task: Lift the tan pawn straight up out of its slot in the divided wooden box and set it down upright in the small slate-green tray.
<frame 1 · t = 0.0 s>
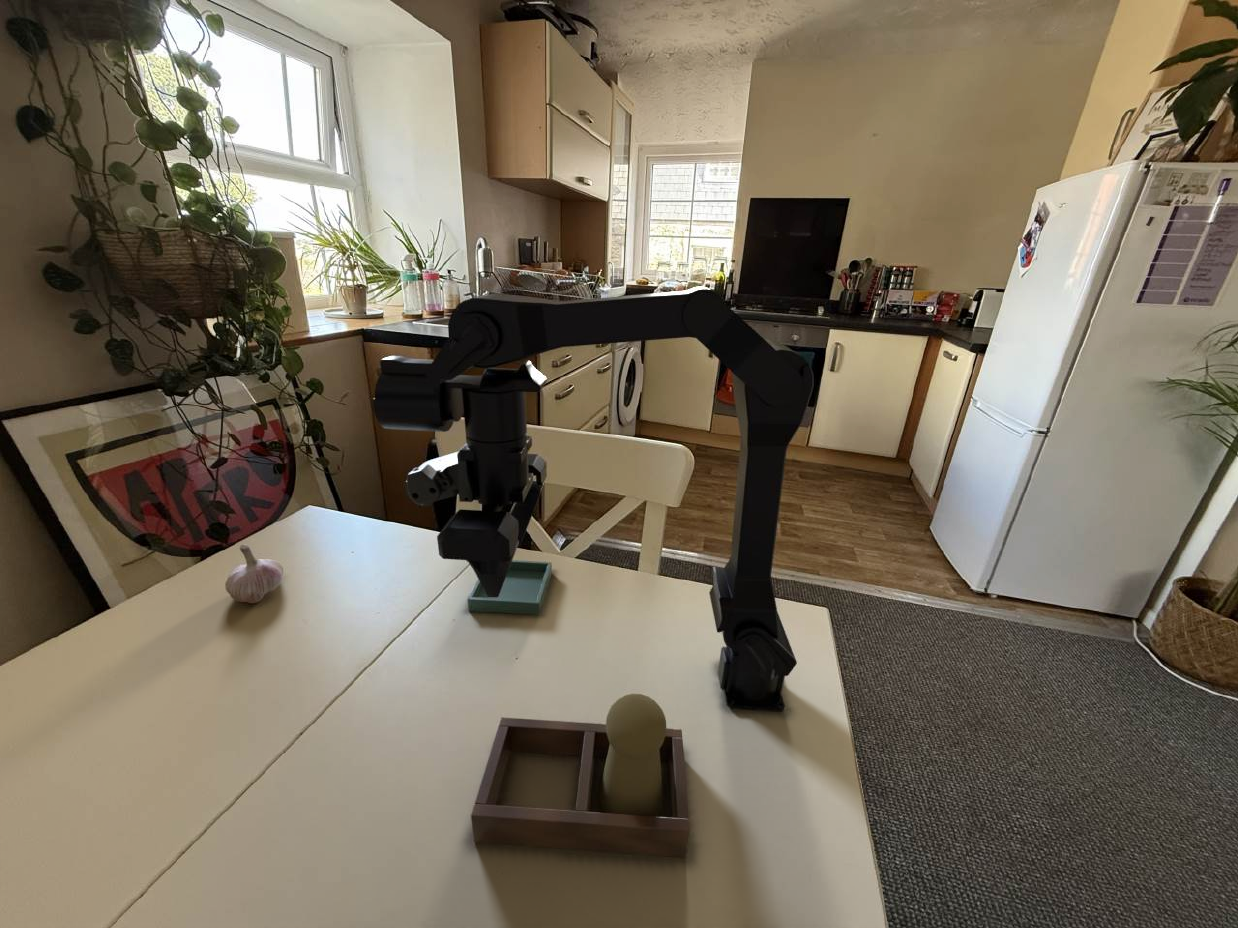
hand: (505, 569, 53), 15 cm above the table, tool pointing down, fingers open, 9 cm apart
tan pawn: (631, 798, 46), resting in divided wooden box
divided wooden box: (585, 793, 46), on the table
garlic bulb: (259, 592, 71), on the table
tray: (512, 590, 74), on the table
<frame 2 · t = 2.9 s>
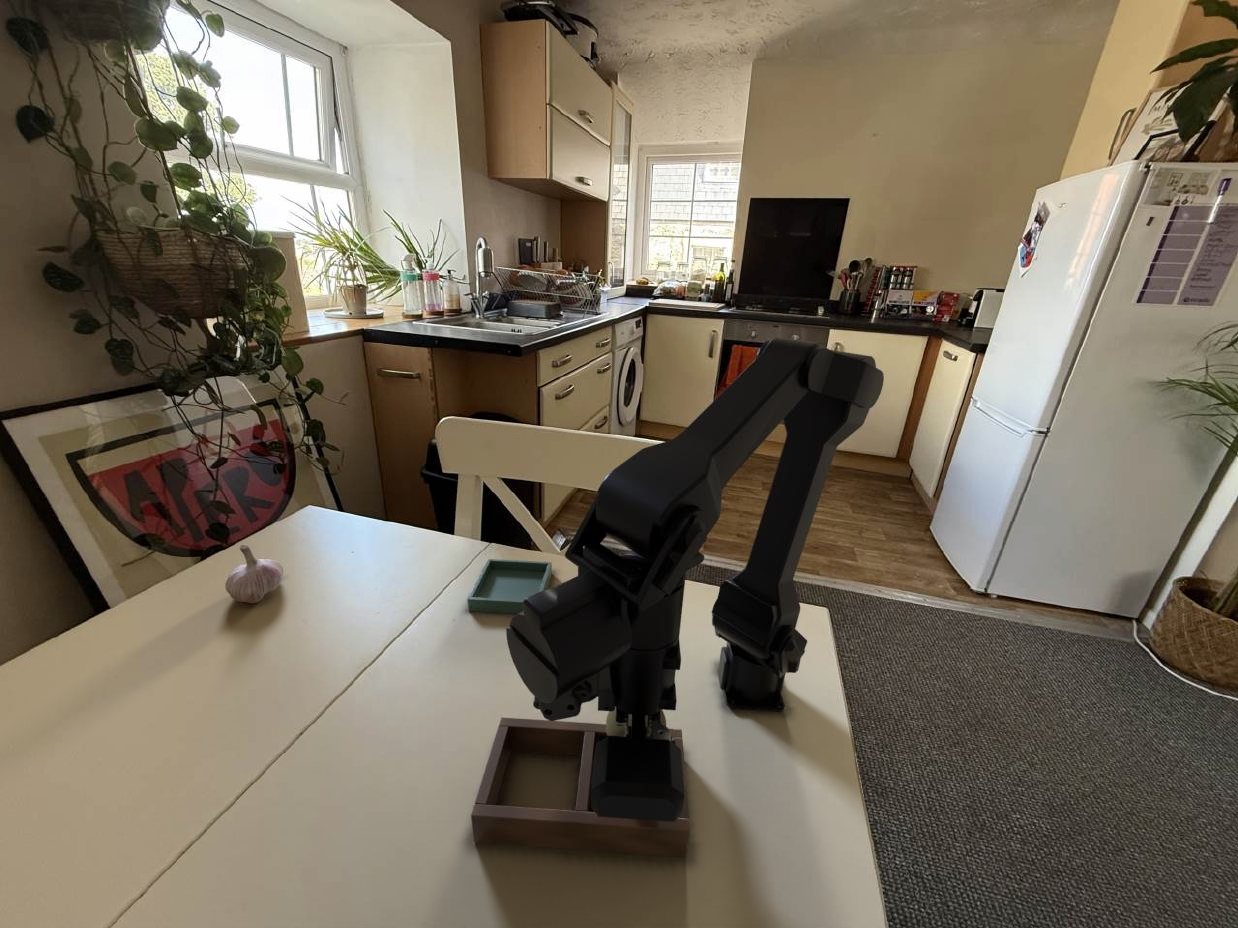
hand: (633, 763, 44), 5 cm above the table, tool pointing down, fingers closed on tan pawn, 4 cm apart
tan pawn: (631, 798, 46), resting in divided wooden box, touching gripper
everything else where it was.
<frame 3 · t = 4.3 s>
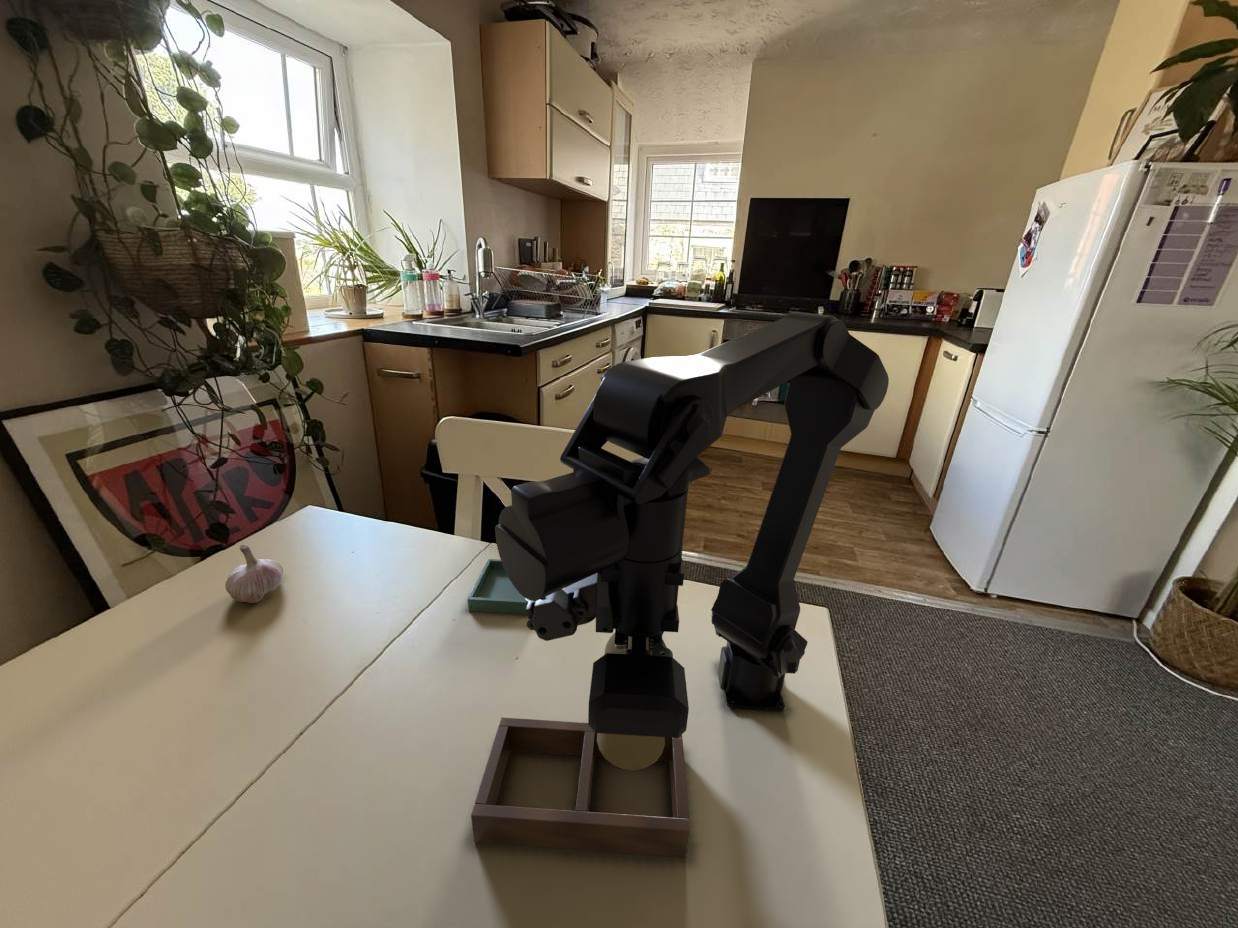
hand: (633, 699, 42), 12 cm above the table, tool pointing down, fingers closed on tan pawn, 4 cm apart
tan pawn: (630, 738, 44), point 7 cm above the table, touching gripper
everything else where it was.
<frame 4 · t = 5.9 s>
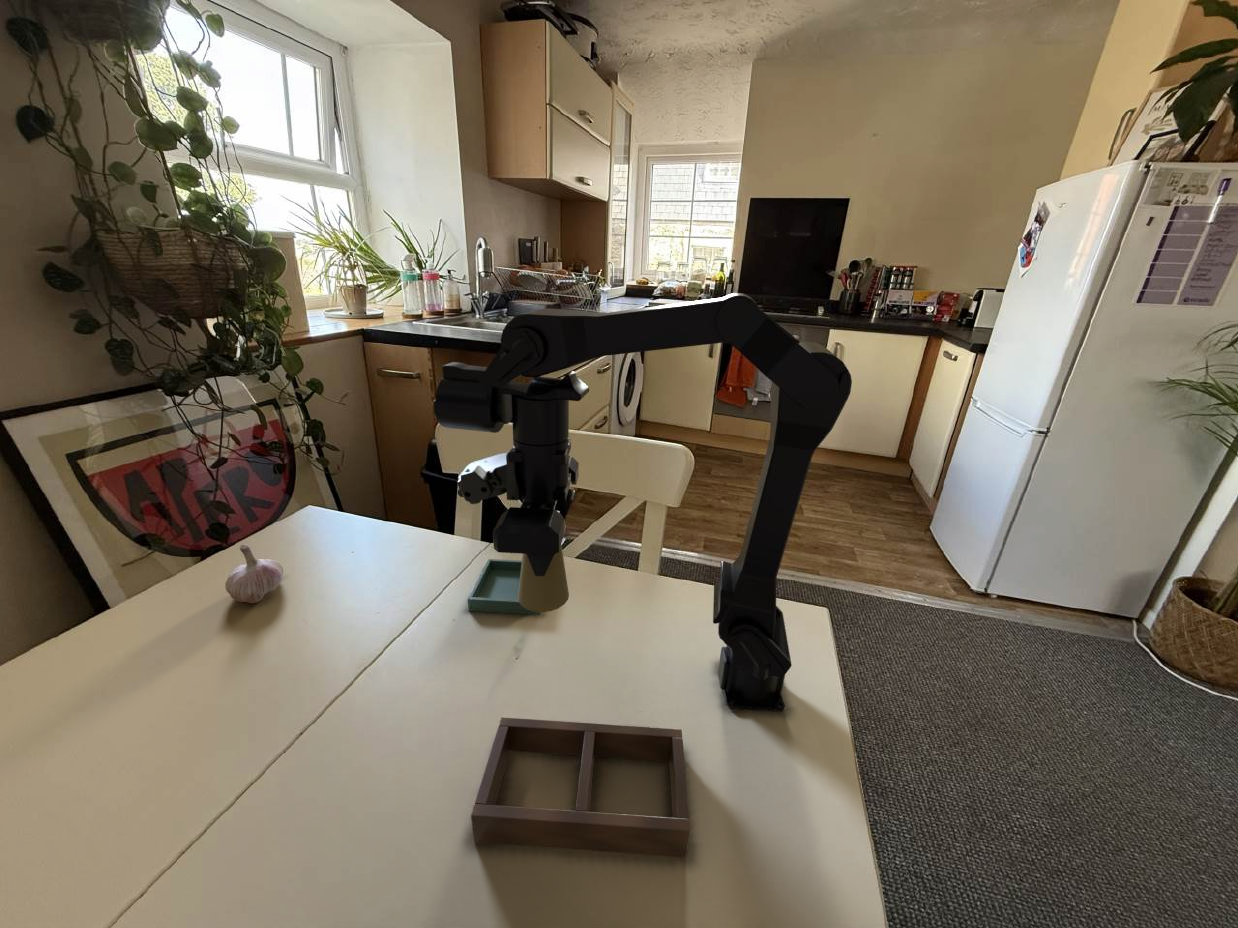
hand: (543, 563, 57), 13 cm above the table, tool pointing down, fingers closed on tan pawn, 4 cm apart
tan pawn: (543, 596, 59), point 8 cm above the table, touching gripper
everything else where it was.
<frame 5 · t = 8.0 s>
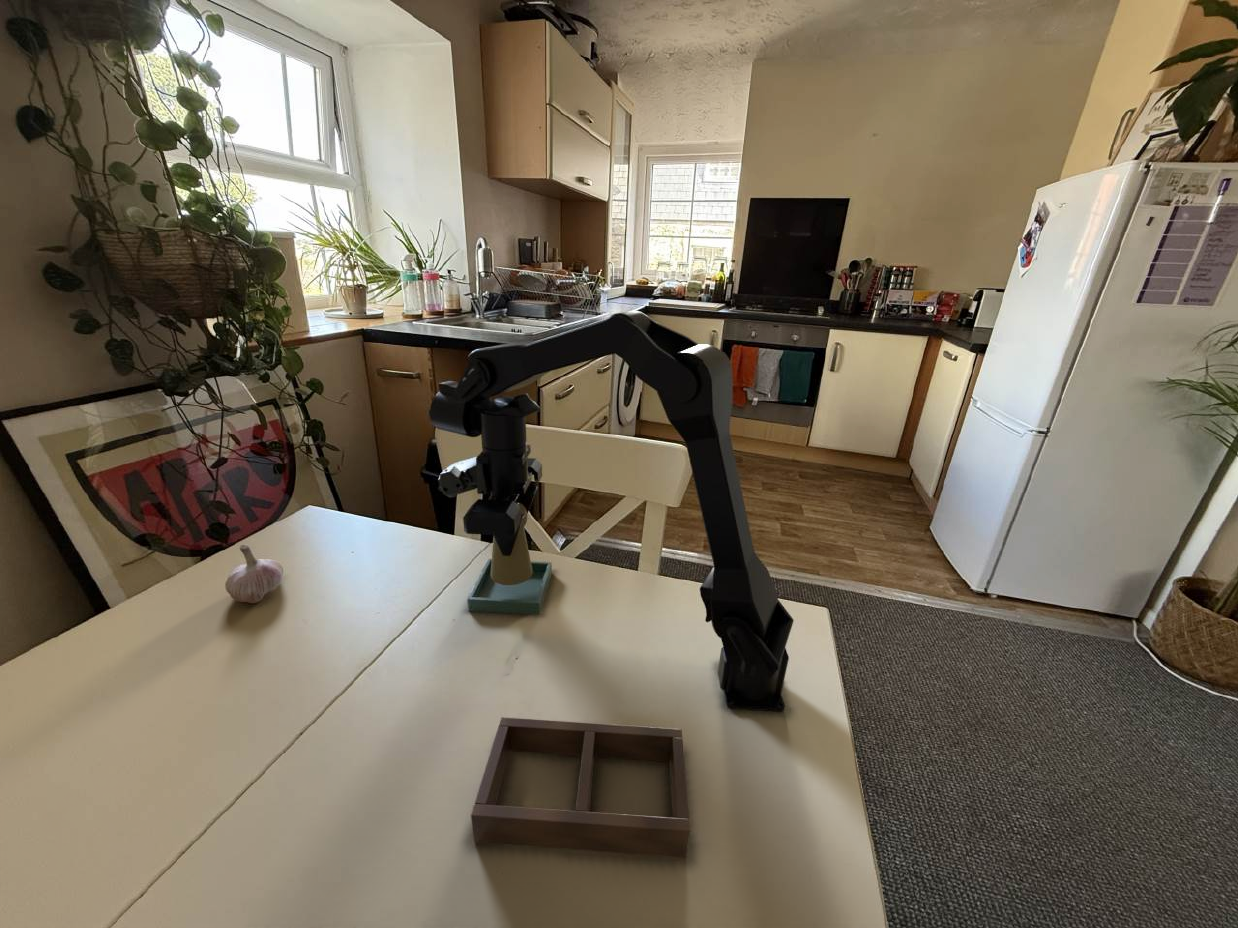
hand: (510, 546, 70), 8 cm above the table, tool pointing down, fingers closed on tan pawn, 4 cm apart
tan pawn: (511, 573, 72), point 3 cm above the table, touching gripper
everything else where it was.
when the fingers open (5 cm above the table, at t = 9.1 s): tan pawn stays where it is, resting on tray.
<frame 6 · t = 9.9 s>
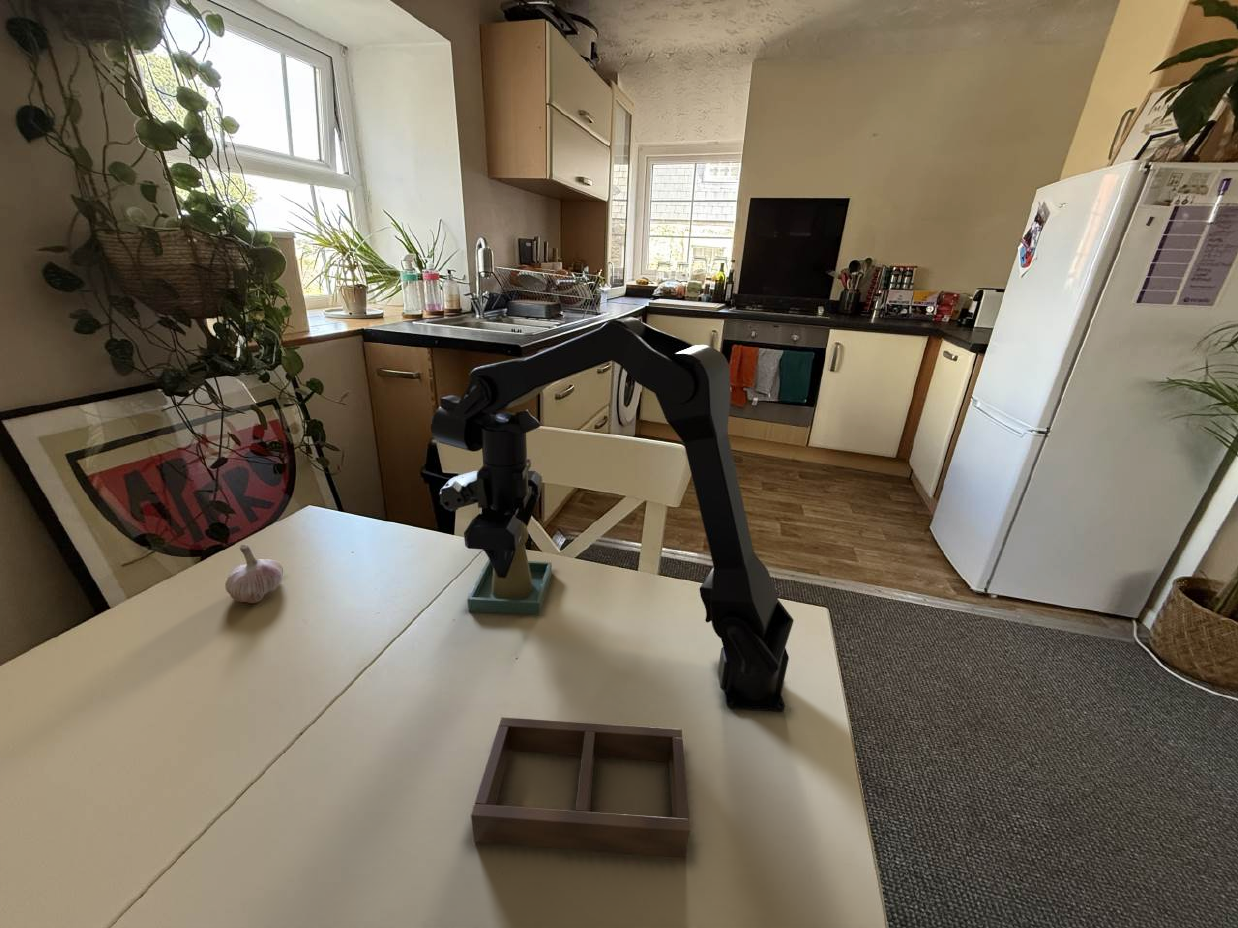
hand: (510, 558, 71), 6 cm above the table, tool pointing down, fingers open, 9 cm apart
tan pawn: (512, 589, 73), resting on tray
everything else where it was.
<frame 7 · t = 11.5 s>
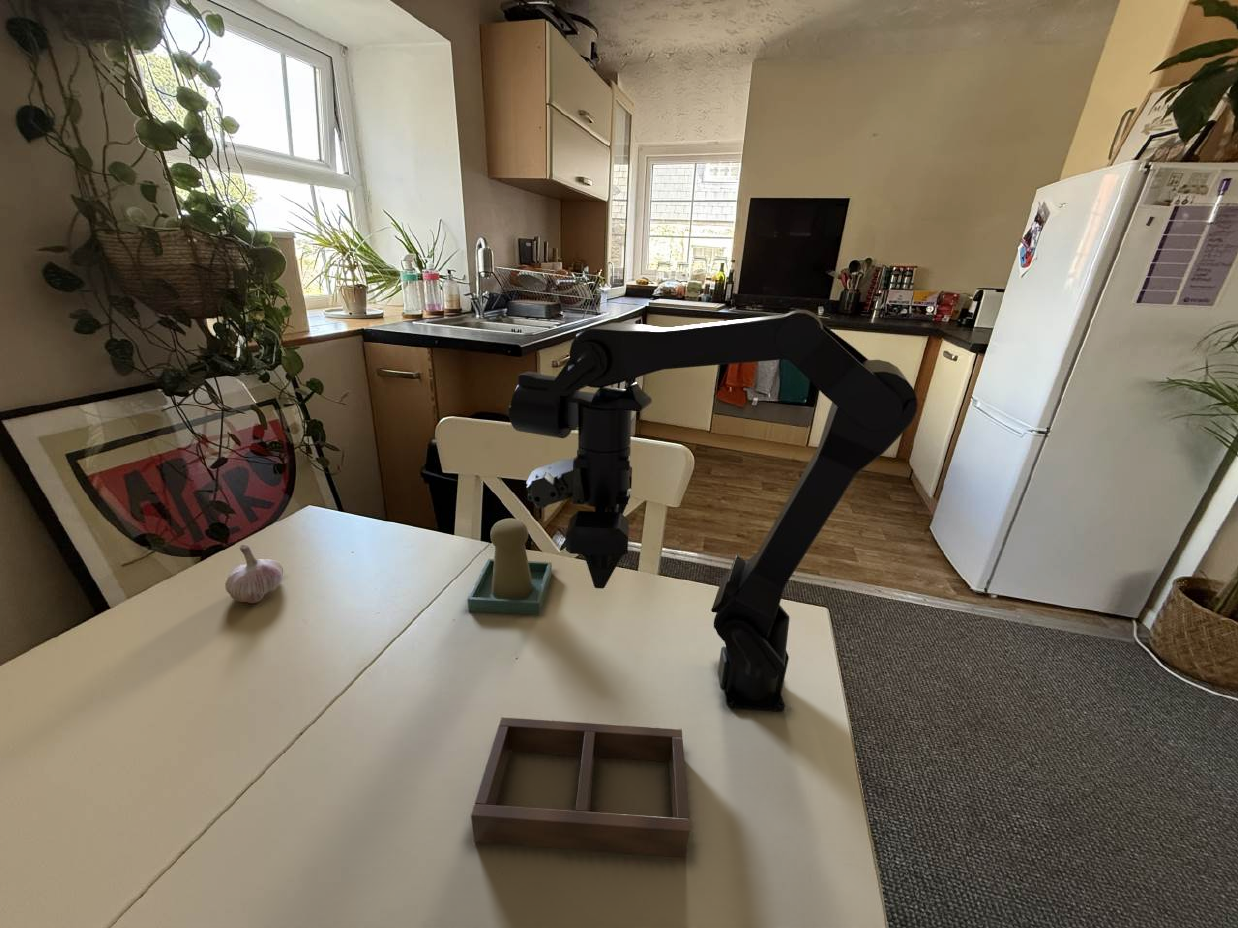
hand: (602, 564, 60), 12 cm above the table, tool pointing down, fingers open, 9 cm apart
nothing on the table moved.
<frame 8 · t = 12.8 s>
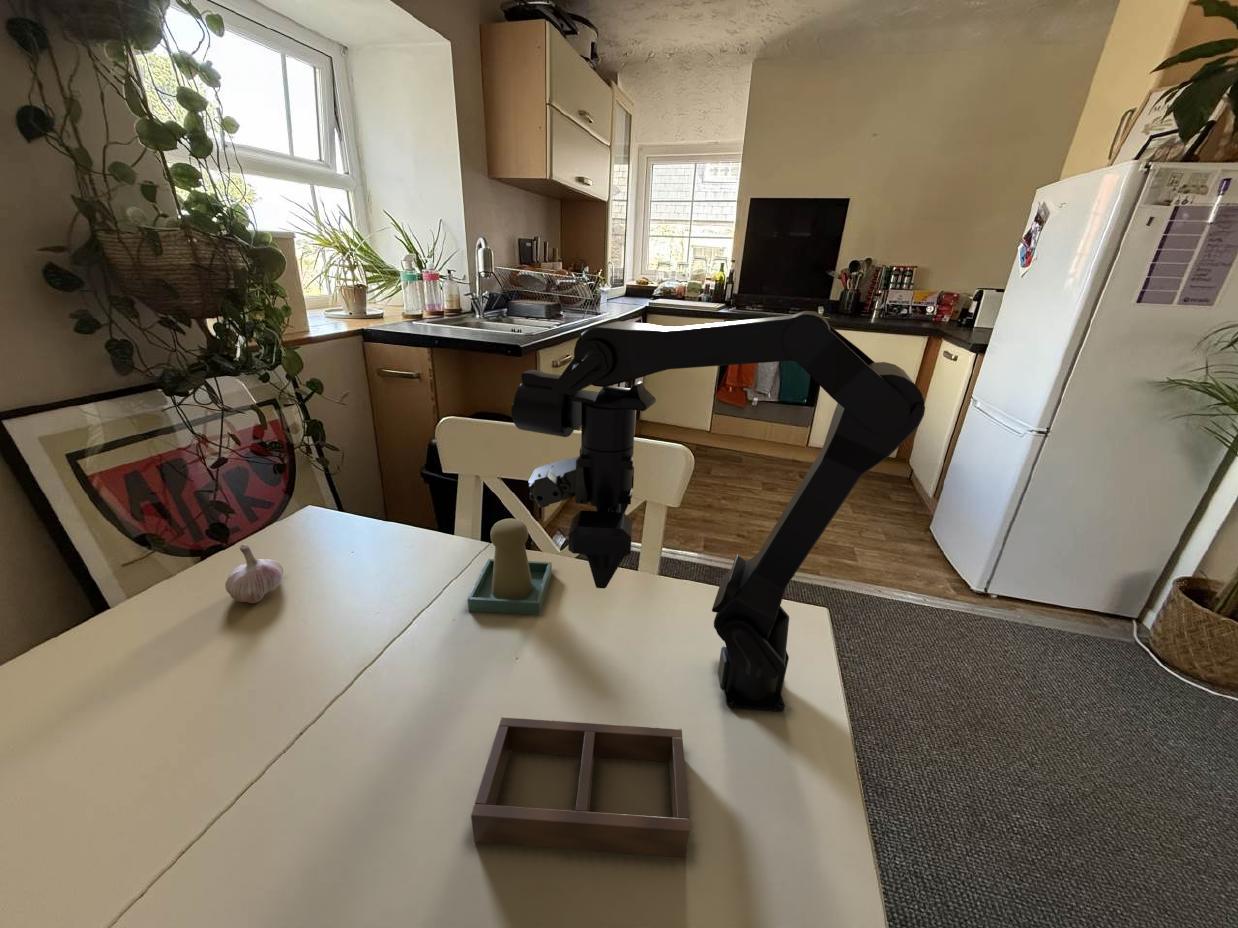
hand: (603, 564, 60), 12 cm above the table, tool pointing down, fingers open, 9 cm apart
nothing on the table moved.
at the end: tan pawn 0.1 cm off-centre in the tray, point 0.3 cm above the tray's base; tan pawn tilted 0°; the gripper is holding nothing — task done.
